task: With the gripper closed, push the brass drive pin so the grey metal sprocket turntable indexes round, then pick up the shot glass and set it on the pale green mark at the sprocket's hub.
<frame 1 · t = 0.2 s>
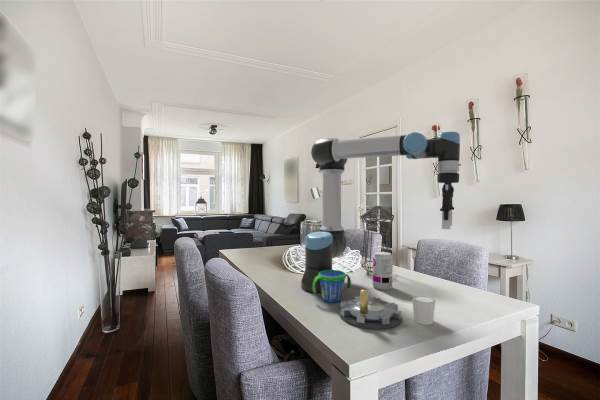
hand: (447, 227, 116), 28 cm above the table, tool pointing down, fingers open, 13 cm apart
geometric lantern: (376, 274, 151), on the table
snack cup: (331, 300, 115), on the table
supplement can: (382, 288, 130), on the table
shot glass: (423, 321, 96), on the table
sprocket: (369, 298, 99), point 6 cm above the table, hinge at 0.0°
sprocket base: (369, 316, 99), on the table
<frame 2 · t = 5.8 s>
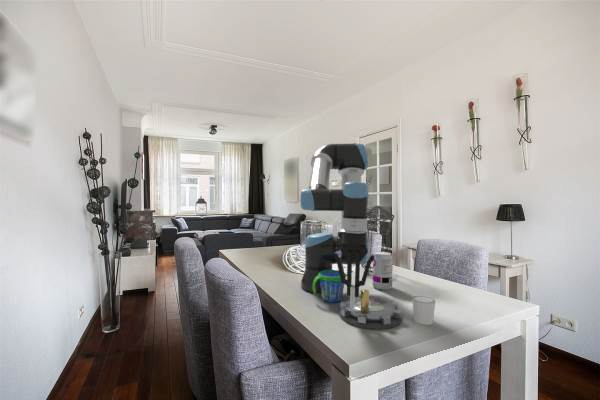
hand: (352, 306, 94), 5 cm above the table, tool pointing down, fingers closed
sprocket: (369, 298, 99), point 6 cm above the table, hinge at 2.2°, touching gripper
everything else where it was.
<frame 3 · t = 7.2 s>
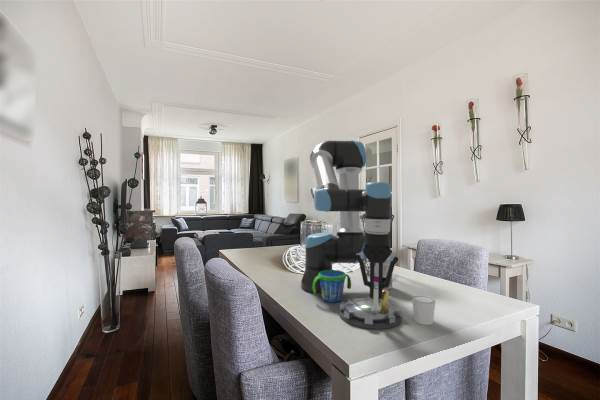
hand: (375, 308, 92), 5 cm above the table, tool pointing down, fingers closed
sprocket: (369, 298, 99), point 6 cm above the table, hinge at 59.3°, touching gripper
everything else where it was.
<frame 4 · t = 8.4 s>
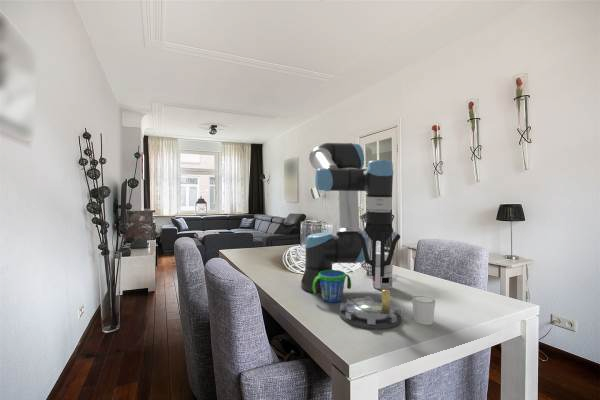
hand: (377, 286, 93), 12 cm above the table, tool pointing down, fingers closed
sprocket: (369, 298, 99), point 6 cm above the table, hinge at 63.9°
everything else where it was.
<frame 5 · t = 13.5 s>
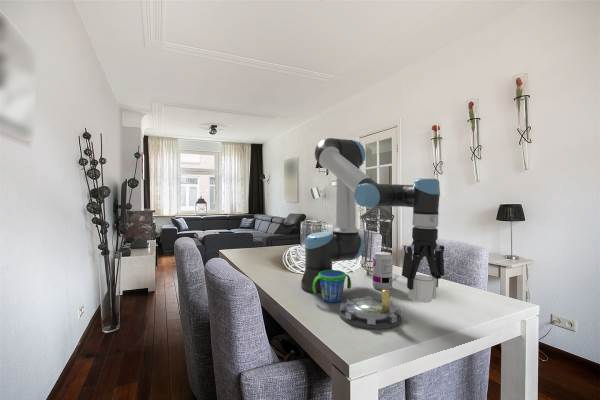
hand: (422, 298, 96), 7 cm above the table, tool pointing down, fingers closed on shot glass, 7 cm apart
shot glass: (422, 299, 96), point 7 cm above the table, touching gripper
everything else where it was.
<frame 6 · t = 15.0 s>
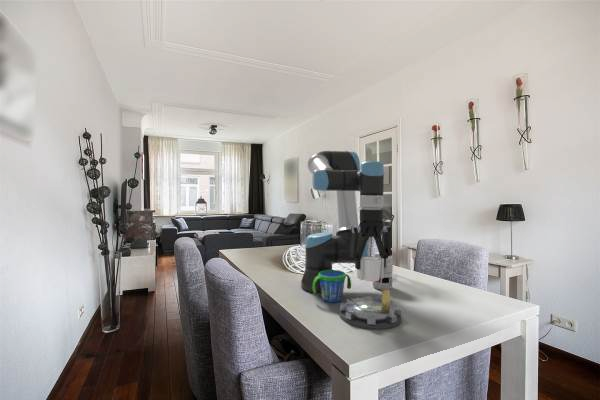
hand: (370, 278, 99), 13 cm above the table, tool pointing down, fingers closed on shot glass, 7 cm apart
shot glass: (370, 279, 99), point 12 cm above the table, touching gripper
everything else where it was.
when the fingers open (4 cm above the table, at t = 16.9 s): shot glass stays where it is, resting on sprocket.
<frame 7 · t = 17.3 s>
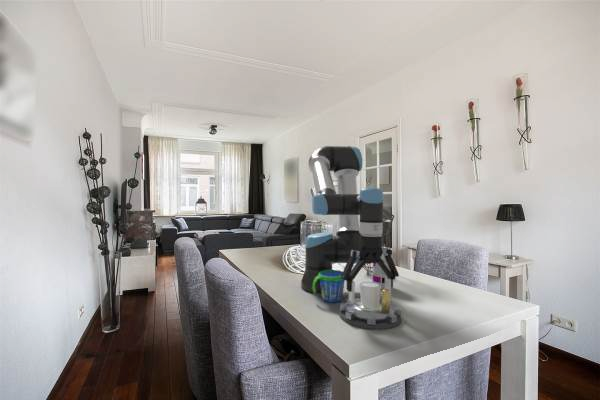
hand: (369, 299, 99), 6 cm above the table, tool pointing down, fingers open, 13 cm apart
shot glass: (369, 306, 99), point 3 cm above the table, touching sprocket
sprocket: (369, 298, 99), point 6 cm above the table, hinge at 63.9°, touching shot glass
everything else where it was.
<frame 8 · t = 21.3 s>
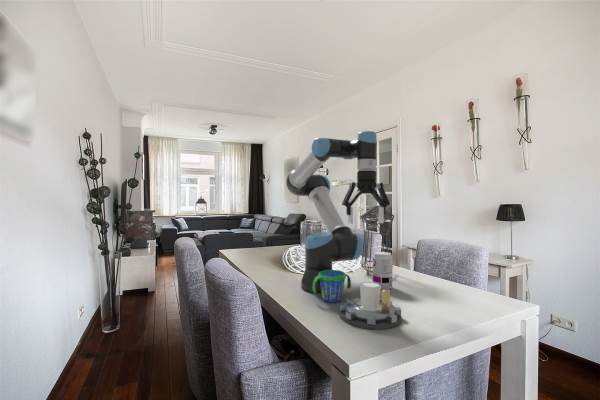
hand: (365, 223, 121), 29 cm above the table, tool pointing down, fingers open, 13 cm apart
nothing on the table moved.
at the end: sprocket at +64° (first picture: +0°); shot glass 0.1 cm from the sprocket (horizontally); shot glass tilted 0° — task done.
